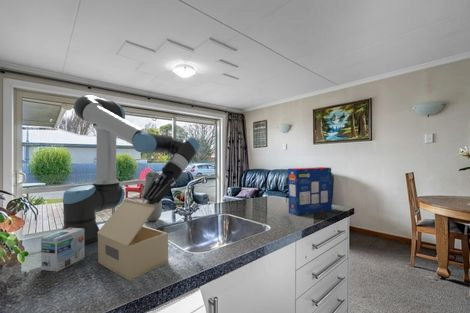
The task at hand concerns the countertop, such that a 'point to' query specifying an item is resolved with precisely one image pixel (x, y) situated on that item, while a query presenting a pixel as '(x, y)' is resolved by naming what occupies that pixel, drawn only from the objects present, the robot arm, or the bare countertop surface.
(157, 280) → the countertop surface
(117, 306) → the countertop surface
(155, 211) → the grey vase
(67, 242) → the light bulb box
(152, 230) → the carton
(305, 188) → the blue product box
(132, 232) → the carton flap
